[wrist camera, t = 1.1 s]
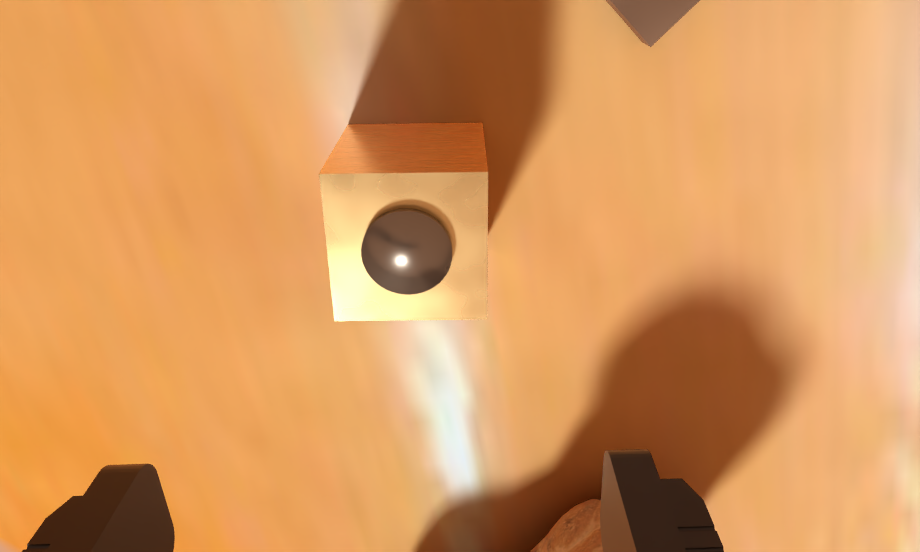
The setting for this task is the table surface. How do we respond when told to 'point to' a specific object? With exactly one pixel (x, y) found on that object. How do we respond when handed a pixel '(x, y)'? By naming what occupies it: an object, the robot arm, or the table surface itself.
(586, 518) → the pipe
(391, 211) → the tan knob block
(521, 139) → the table surface
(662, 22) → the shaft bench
